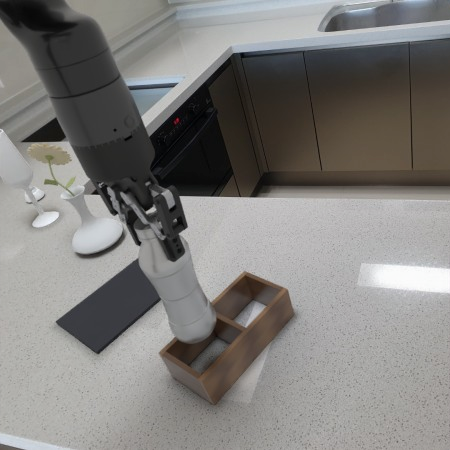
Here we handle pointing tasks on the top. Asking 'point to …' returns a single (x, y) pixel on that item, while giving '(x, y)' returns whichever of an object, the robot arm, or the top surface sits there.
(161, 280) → the plastic bottle
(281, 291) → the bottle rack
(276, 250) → the top surface
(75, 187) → the flower in vase
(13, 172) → the champagne flute
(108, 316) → the mat
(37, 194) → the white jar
